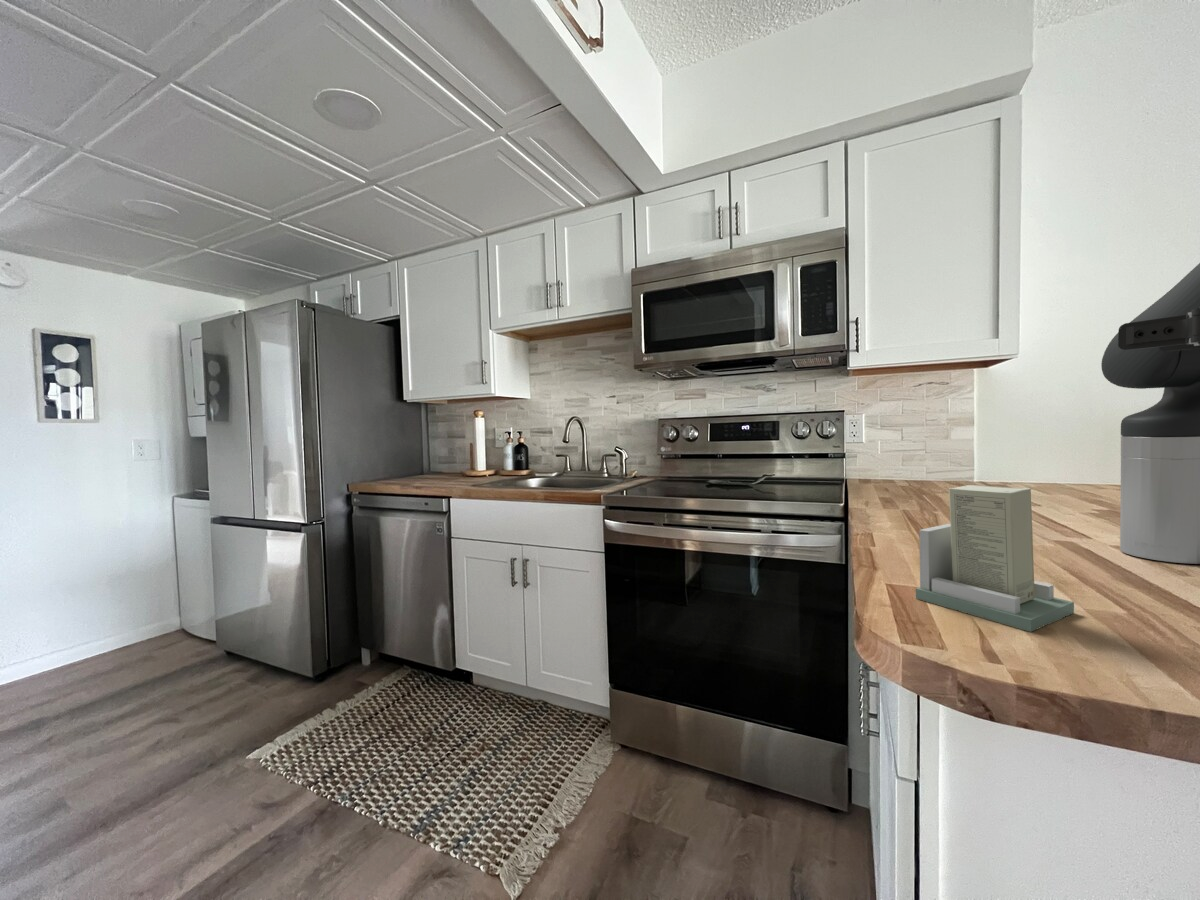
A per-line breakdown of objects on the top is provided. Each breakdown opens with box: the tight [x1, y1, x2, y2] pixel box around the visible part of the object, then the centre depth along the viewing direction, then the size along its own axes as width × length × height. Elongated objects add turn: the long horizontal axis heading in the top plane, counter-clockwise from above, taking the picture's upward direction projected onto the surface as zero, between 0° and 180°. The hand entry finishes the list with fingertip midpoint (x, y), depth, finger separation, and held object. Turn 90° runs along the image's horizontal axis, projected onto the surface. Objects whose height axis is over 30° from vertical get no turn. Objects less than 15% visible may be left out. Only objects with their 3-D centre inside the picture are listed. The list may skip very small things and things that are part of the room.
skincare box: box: [948, 484, 1035, 604], centre depth 54 cm, size 6×4×12 cm
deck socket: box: [915, 523, 1075, 633], centre depth 54 cm, size 9×11×8 cm
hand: (1140, 338), depth 42 cm, fingers open, 8 cm apart
